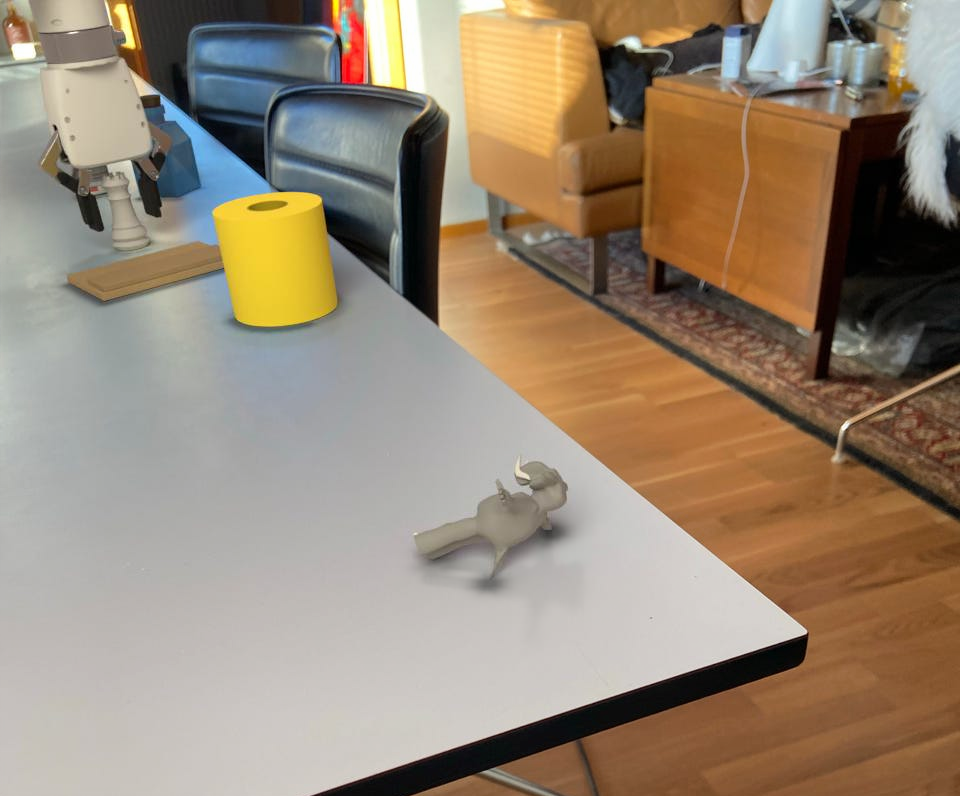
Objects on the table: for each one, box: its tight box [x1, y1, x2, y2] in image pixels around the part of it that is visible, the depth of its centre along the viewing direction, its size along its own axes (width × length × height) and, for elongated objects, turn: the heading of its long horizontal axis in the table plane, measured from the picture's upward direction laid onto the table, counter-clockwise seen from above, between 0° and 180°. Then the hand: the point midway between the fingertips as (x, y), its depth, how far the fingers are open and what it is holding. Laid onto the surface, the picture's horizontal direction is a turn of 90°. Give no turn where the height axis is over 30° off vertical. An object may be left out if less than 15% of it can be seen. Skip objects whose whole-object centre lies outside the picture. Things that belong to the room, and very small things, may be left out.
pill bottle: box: [89, 165, 110, 196], centre depth 145 cm, size 5×5×8 cm
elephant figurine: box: [412, 454, 569, 580], centre depth 58 cm, size 10×6×9 cm
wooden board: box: [66, 240, 224, 302], centre depth 111 cm, size 16×10×1 cm, turn 129°
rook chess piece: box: [101, 171, 151, 252], centre depth 119 cm, size 4×4×8 cm
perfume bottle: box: [130, 93, 202, 198], centre depth 140 cm, size 6×6×12 cm
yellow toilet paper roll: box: [211, 191, 339, 328], centre depth 96 cm, size 10×10×9 cm
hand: (125, 221), depth 120 cm, fingers open, 6 cm apart
